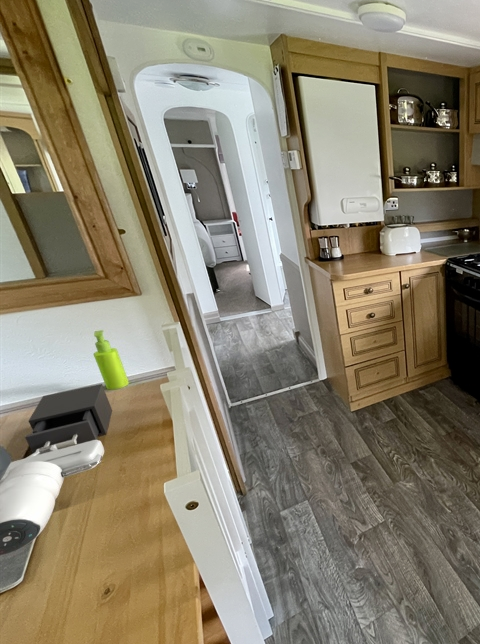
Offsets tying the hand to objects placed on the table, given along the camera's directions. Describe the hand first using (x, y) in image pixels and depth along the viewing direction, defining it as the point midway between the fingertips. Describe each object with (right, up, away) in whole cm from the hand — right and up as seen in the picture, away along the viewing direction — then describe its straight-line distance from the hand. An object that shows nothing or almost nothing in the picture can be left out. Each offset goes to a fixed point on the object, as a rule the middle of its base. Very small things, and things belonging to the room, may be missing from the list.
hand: (47, 449), depth 87 cm
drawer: (-9, -3, +14) cm, 17 cm away
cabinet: (-15, -1, +22) cm, 26 cm away
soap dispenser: (-26, +9, +45) cm, 53 cm away
